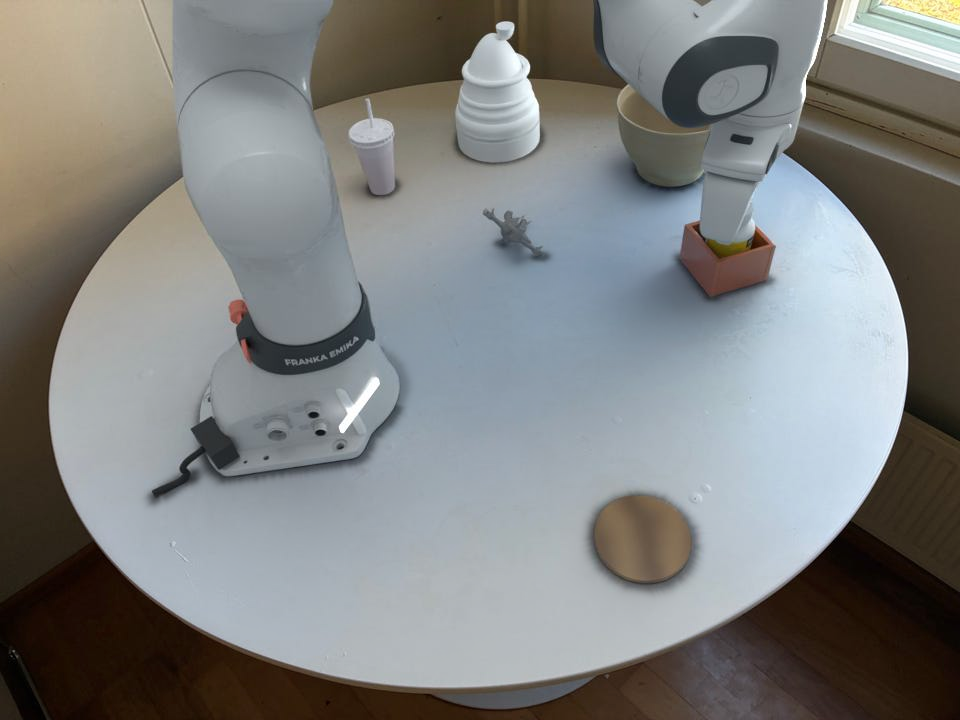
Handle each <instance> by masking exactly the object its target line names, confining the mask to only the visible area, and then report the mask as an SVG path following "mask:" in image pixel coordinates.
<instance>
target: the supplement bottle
mask: <svg viewBox="0 0 960 720" xmlns="http://www.w3.org/2000/svg"><path fill="white" fill-rule="evenodd" d="M754 210H755V206H754V203H753V202H752V201H751V203H750V205H749V207H748V210H747V212H746V214H745V216H744V219H743V221H742V223H741V226H740V228H739V231H738V233H737V236H736V238H735V239H734V241H733V242H732V243H731V244H730V245H724V244H720V243H718V242H716V240H712V239H708V238H706V240H705V243H706V244H707V245H708V247H709V248H710V249H711V250H712V251H713V253H714V254H715V255H716V256H717V257H718V258H719V259H721V258H724V257H728V256H731V255H734V254H738V253H741V252H745V251H748V250H750V248H751V244H752V240H753V236H754V232H755V224H756V223H755V221H754V219H753V215H754Z"/></svg>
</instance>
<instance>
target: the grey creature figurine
mask: <svg viewBox="0 0 960 720" xmlns="http://www.w3.org/2000/svg"><path fill="white" fill-rule="evenodd" d="M513 213H514V211H513V210H512V209H507V210H506V211H505V212H504V214H503V220H504V221H502V220H501V219H499V218H498V217H497V216H496V215H495V208H494V207H493V208H492V209H491V211H489V210H488V209H487V208H484V209H483V210H482V215H483V216H484V217H486V218H487V219H488V220H489V221H492V222H494V223H495V224H496V225H497V226H498V227H499V229H500V235H501V236H502V238H501V239H500V240H499V241H498V244H501V243H503V242H505V241H506V242H507V243H510V244H518V245H522V246H523V247H524V248H527V249H529V250H530V251H531V252H532V254H533V255H535V256H536V257H538V258H543V257H544V256H545V252H543V251H542V250H541V249H542V248H544V246H543V245H540V246H535V245H533V244H532V240H531V239H530V238H529V236H528V235H526V229H527V228H528V225H530V224H531V223H533V221H532V220H530V221H527V219H525V218H524V217H526V216H525V215H526V214H522V216H520V215H519V216H516V217H513Z"/></svg>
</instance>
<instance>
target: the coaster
mask: <svg viewBox="0 0 960 720" xmlns="http://www.w3.org/2000/svg"><path fill="white" fill-rule="evenodd" d="M593 542H594V546H595V550H596V553H597V555H598V557H599V559H600V560H601V562H602V563H603V565H605V567H607V568H608V570H610V571H611V572H612V573H613V574H615V575H617V576H618V577H620V578H622V579H623V580H626V581H629V582H632V583H637V584H657V583H661V582H664V581H667V580H669V579H671V578H672V577H674V576H675V575H677V574H678V573H679V572H681V570H682V569H683V568H684V566H685V565H686V563H687V562H688V559H689V558H690V554H691V549H692V535H691V531H690V529H689V526H688V523H687V522H686V520H685V519H684V517H683V516H682V514H681V513H680V512H679V511H678V510H677V509H675V508H674V506H672V505H670V504H669V503H667V502H666V501H664V500H661V499H659V498H656V497H653V496H648V495H643V494H642V495H641V494H635V495H627V496H623V497H619V498H617V499H615V500H613V501H612V502H611V503H609V504H608V505H606V506H605V507H604V508H603V509H602V511H601V512H600V513H599V515H598V517H597V518H596V521H595V524H594V529H593Z"/></svg>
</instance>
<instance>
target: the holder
mask: <svg viewBox="0 0 960 720" xmlns="http://www.w3.org/2000/svg"><path fill="white" fill-rule="evenodd" d="M683 226H684V227H683V234H682V240H681V246H680V253H679V260H680V261H681V263H682V264H683V265H684V267H685V268H686V269H687V270H688V271H689V272H690V274H691V275H692V276H693V278H694V279H695V280H696V282H697V283H698V284H699V285H700V286H701V288H702V289H703V291H705V292H706V294H707V295H708V297H709V298H712V297H714V296H715V297H716V296H719V295H723V294H725V293H729V292H732V291H737V290H738V289H742V288H746V287H749V286H752V285H756V284H760V283H762V282H766V281H768V278H769V274H770V270H771V267H772V263H773V259H774V255H775V252H776V248H777V245H776V244H775V243H774V242H773V241H772V240H771V238H769V237H768V236H767V234H765V232H764V231H763V230H762V229H761V228H760V227H759V226H758V224H756V223H755V232H754V236H753V240H752V244H751V248H750V250H748V251H745V252H741V253H738V254H734V255H731V256H728V257H724V258H721V259H719V258H718V257H717V256H716V255H715V254H714V253H713V251H712V250H711V249H710V248H709V247H708V245H707V244H706V243H705V240H706V238H705V237H703V236H702V235H701V232H700V220H696V221H693V222H689V223H686V224H684V225H683Z"/></svg>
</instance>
